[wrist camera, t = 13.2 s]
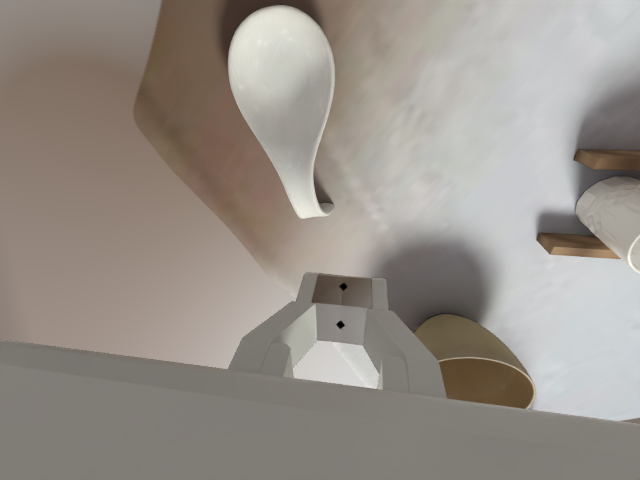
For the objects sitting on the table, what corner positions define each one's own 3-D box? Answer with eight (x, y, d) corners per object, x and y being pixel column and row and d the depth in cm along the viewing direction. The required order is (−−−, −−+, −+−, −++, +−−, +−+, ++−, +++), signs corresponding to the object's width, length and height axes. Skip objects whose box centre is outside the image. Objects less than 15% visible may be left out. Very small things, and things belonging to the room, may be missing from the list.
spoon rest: (224, 28, 32) (190, 20, 26) (326, -6, 29) (314, -24, 23) (284, 214, 43) (271, 239, 37) (361, 203, 41) (359, 228, 35)
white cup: (572, 236, 38) (628, 285, 30) (566, 187, 35) (627, 226, 27) (647, 215, 36) (732, 263, 27) (648, 159, 32) (745, 193, 24)
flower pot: (372, 327, 53) (373, 390, 43) (455, 274, 44) (480, 338, 34) (437, 373, 58) (451, 439, 47) (523, 333, 49) (564, 405, 39)
